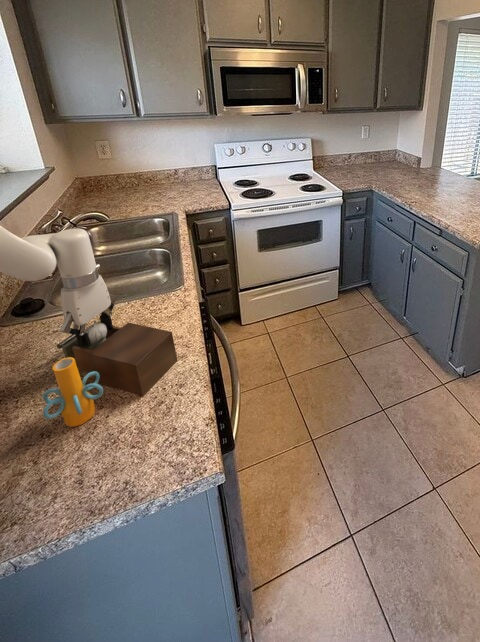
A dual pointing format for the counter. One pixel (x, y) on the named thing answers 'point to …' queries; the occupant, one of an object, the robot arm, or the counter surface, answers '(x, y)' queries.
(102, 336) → the garlic
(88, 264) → the robot arm
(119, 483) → the counter surface
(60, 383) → the yellow vase with loops
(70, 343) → the drawer
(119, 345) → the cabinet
